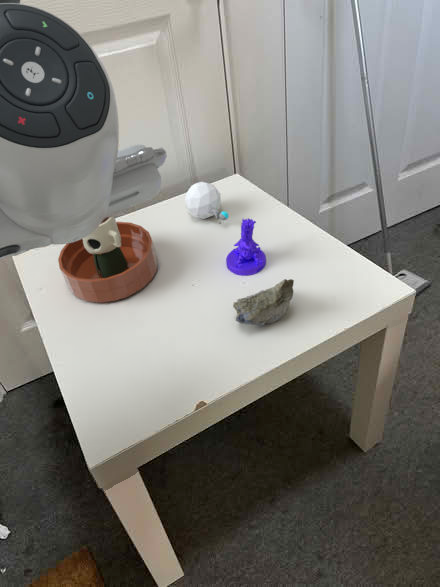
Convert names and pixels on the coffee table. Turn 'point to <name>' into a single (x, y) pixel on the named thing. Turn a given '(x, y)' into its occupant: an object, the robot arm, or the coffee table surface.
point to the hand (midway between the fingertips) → (61, 229)
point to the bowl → (95, 288)
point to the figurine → (246, 253)
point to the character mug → (106, 248)
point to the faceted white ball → (204, 201)
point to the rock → (265, 304)
